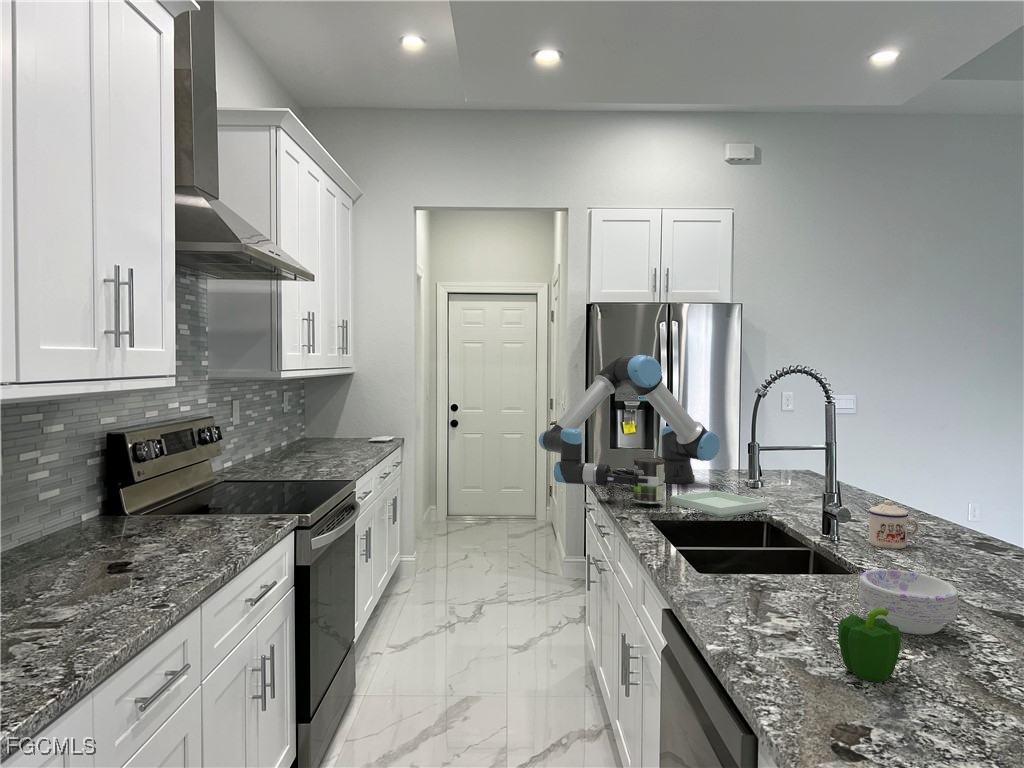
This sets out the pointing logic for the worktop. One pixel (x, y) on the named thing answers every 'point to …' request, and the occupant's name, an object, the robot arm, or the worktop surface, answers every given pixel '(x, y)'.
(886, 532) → the teacup with lid
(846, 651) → the bell pepper
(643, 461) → the coffee can
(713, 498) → the tray
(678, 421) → the robot arm
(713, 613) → the worktop surface
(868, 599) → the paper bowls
